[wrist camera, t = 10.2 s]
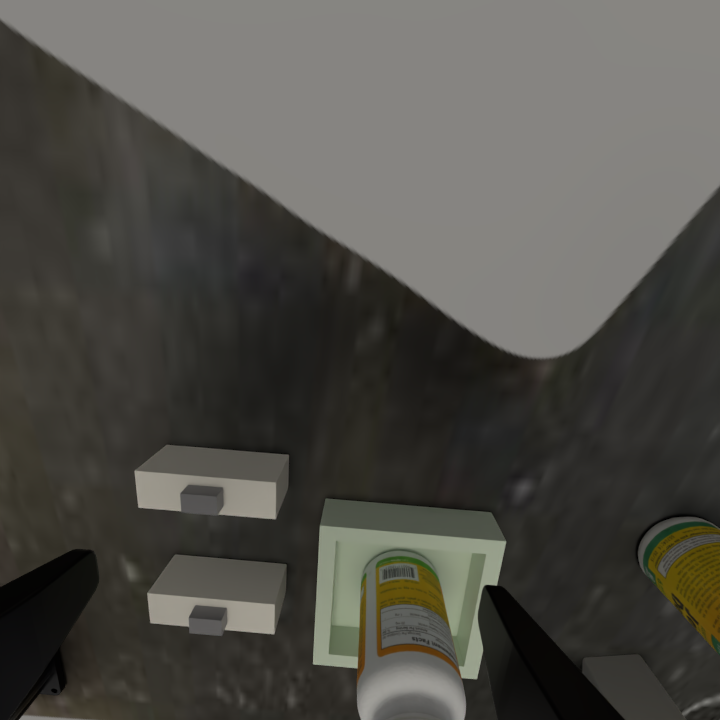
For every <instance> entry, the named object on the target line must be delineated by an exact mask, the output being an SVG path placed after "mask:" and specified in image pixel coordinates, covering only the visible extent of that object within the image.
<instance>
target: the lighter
mask: <svg viewBox="0 0 720 720" xmlns="http://www.w3.org/2000/svg"><path fill="white" fill-rule="evenodd" d="M582 673H583V674H584V675H585V676H586V677H587V679H588V680H589V681H590V682H591V683H592V684H593V685H594V686H595V687H596V688H597V689H598V691H599V692H600V693H601V694H602V695H603V696H604V697H605V698H606V699H607V700H608V701H609V703H610V704H611V705H612V706H613V707H614V708H615V709H616V710H617V711H618V712H619V713H620V715H621V716H622V717H623V718H624V719H625V720H686V719H685V717H684V716H683V715H682V713H681V712H680V710H679V709H678V708H677V706H676V705H675V703H674V702H673V701H672V699H671V698H670V696H669V695H668V693H667V692H666V691H665V689H664V688H663V686H662V685H661V684H660V682H659V681H658V679H657V678H656V677H655V675H654V674H653V672H652V671H651V670H650V668H649V667H648V665H647V664H646V663H645V661H644V660H643V658H642V657H641V656H640V655H639V654H632V655H616V656H600V657H585V658H584V659H583V662H582Z"/></svg>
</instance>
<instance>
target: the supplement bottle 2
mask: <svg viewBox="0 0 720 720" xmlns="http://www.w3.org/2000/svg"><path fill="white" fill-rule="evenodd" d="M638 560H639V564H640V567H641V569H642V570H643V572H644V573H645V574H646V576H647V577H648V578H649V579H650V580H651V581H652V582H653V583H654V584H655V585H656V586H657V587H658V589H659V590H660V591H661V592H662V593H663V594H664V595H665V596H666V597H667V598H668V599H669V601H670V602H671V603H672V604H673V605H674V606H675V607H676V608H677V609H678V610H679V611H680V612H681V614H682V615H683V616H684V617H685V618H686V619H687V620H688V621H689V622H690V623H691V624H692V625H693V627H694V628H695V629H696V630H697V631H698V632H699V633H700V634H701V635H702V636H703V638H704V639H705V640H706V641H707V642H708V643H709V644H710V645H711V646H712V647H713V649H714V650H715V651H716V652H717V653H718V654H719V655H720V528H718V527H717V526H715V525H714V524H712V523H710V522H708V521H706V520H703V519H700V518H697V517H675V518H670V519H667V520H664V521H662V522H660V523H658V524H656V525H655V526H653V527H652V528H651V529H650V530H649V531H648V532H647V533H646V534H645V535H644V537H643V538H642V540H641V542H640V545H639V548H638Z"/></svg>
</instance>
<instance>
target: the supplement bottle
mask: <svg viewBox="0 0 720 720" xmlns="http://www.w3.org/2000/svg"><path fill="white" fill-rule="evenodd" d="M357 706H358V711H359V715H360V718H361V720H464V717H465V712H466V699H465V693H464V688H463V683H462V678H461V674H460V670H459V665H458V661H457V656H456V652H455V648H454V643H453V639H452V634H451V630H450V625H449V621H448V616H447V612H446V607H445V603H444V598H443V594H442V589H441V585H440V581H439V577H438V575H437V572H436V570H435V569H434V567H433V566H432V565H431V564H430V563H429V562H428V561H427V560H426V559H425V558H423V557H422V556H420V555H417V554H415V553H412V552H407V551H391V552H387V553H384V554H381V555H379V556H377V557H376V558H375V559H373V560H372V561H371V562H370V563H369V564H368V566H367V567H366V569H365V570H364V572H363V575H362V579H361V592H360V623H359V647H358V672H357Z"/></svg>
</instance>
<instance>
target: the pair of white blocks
mask: <svg viewBox="0 0 720 720" xmlns="http://www.w3.org/2000/svg"><path fill="white" fill-rule="evenodd" d="M135 480H136V490H137V499H138V508H149V509H161V510H172V511H181V513H192V514H204V515H216V516H218V514H219V515H231V516H243V517H254V518H266V519H276V517H277V515H278V512H279V510H280V507H281V505H282V502H283V500H284V497H285V495H286V492H287V490H288V485H289V455H286V454H274V453H261V452H249V451H237V450H225V449H213V448H201V447H188V446H176V445H166V446H164V447H163V448H162V449H161V450H159V451H158V452H157V453H156V454H155V455H153V456H152V457H151V458H150V459H148V460H147V461H146V462H145V463H143V464H142V465H141V466H140V467H139V468H137V469H136V470H135ZM286 574H287V564H281V563H269V562H258V561H246V560H235V559H223V558H212V557H200V556H189V555H177V554H175V555H174V556H173V558H172V559H171V561H170V562H169V563H168V565H167V566H166V568H165V569H164V570H163V572H162V573H161V575H160V576H159V577H158V579H157V580H156V582H155V583H154V584H153V586H152V587H151V589H150V590H149V591H148V593H147V595H148V605H149V615H150V623H155V624H166V625H177V626H188V627H189V632H190V633H194V634H205V635H216V636H222V635H223V632H224V630H232V631H243V632H254V633H265V634H275V630H276V626H277V623H278V619H279V615H280V612H281V608H282V604H283V601H284V597H285V593H286Z"/></svg>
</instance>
